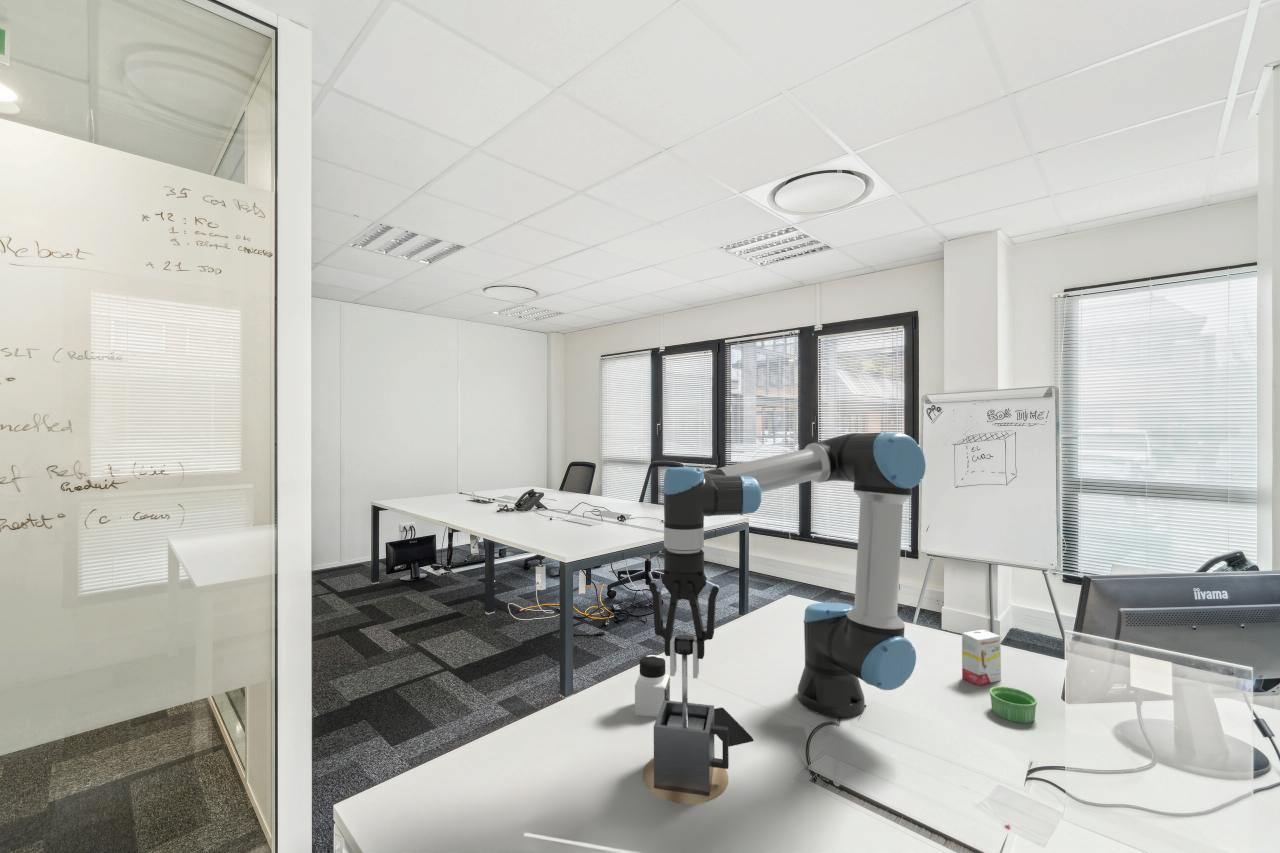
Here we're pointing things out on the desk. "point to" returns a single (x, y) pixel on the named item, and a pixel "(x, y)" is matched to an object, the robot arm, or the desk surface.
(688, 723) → the plunger
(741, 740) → the smartphone
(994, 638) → the ink box
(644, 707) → the medicine bottle
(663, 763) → the press body
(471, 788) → the desk surface
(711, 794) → the coaster
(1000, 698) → the ramekin
